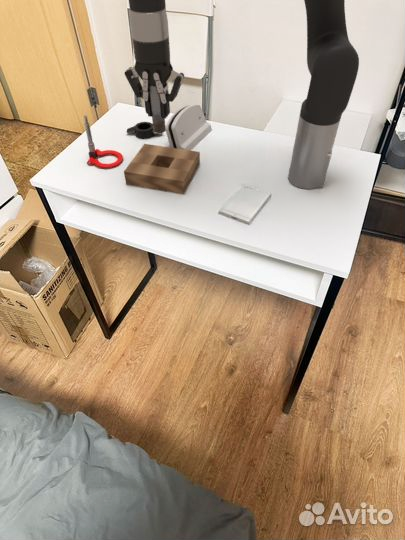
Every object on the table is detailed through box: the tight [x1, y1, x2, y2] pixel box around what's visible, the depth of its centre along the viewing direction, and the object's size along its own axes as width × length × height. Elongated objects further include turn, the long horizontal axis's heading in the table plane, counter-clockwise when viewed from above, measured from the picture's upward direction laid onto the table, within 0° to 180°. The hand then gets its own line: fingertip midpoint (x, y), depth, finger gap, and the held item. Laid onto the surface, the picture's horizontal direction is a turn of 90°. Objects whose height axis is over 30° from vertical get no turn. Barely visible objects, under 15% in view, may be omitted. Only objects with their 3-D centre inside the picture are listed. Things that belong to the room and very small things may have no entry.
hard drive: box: [218, 184, 272, 226], centre depth 93 cm, size 2×8×12 cm
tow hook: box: [83, 115, 124, 170], centre depth 102 cm, size 8×13×9 cm
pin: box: [149, 85, 166, 134], centre depth 89 cm, size 3×3×11 cm
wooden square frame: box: [123, 143, 201, 195], centre depth 101 cm, size 16×14×4 cm
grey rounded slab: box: [165, 104, 213, 151], centre depth 112 cm, size 17×5×10 cm, turn 151°
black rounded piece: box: [126, 121, 155, 140], centre depth 116 cm, size 8×10×3 cm
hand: (158, 115), depth 90 cm, fingers closed on pin, 3 cm apart
